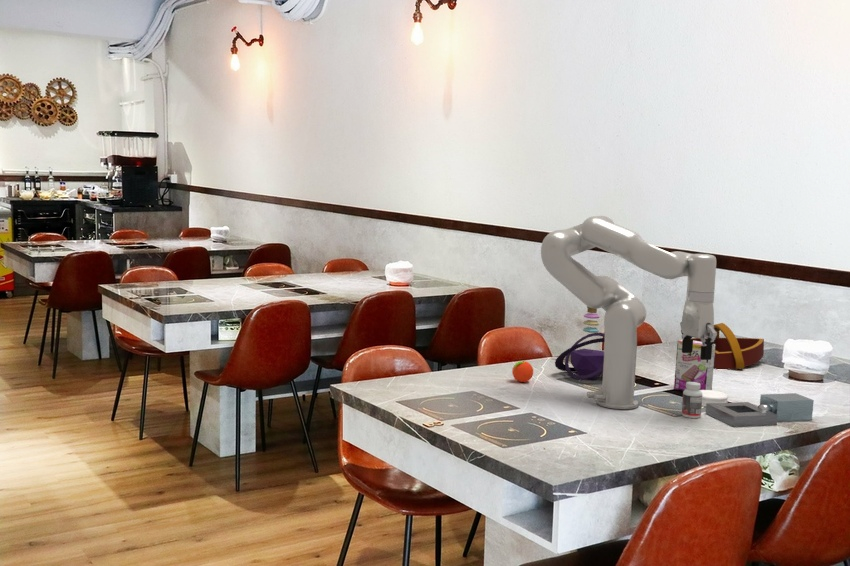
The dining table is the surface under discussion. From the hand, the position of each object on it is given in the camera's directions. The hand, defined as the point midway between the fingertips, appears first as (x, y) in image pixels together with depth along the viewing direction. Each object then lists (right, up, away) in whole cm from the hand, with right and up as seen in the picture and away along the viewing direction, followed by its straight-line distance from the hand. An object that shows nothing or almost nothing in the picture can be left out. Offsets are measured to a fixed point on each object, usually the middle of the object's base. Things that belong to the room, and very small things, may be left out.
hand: (696, 356), depth 256 cm
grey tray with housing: (+20, -18, +3) cm, 27 cm away
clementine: (-46, -12, +37) cm, 61 cm away
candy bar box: (+9, -14, +33) cm, 37 cm away
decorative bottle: (-22, -11, +48) cm, 54 cm away
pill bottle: (-1, -18, +2) cm, 18 cm away
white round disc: (+10, -17, +17) cm, 26 cm away
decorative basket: (+36, -9, +83) cm, 91 cm away
